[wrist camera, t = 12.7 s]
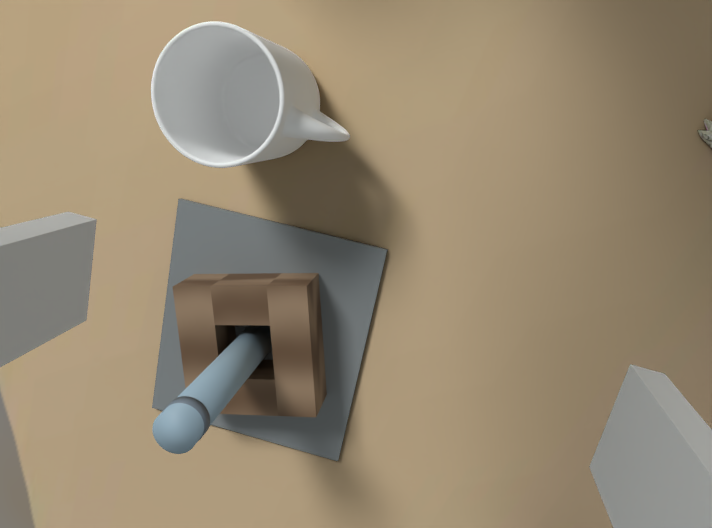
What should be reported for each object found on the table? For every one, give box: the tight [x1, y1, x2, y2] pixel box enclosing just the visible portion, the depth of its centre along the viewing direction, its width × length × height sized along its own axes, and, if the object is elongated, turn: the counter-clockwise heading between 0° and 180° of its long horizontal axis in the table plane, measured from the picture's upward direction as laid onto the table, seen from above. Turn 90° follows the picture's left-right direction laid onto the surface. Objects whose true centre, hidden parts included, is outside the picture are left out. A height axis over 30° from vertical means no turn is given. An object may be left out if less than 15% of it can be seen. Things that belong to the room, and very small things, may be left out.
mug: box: [151, 22, 350, 168], centre depth 40 cm, size 9×12×11 cm
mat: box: [152, 199, 387, 461], centre depth 50 cm, size 20×18×1 cm
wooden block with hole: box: [173, 273, 327, 417], centre depth 47 cm, size 11×11×4 cm
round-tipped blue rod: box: [153, 325, 272, 454], centre depth 42 cm, size 3×3×16 cm
